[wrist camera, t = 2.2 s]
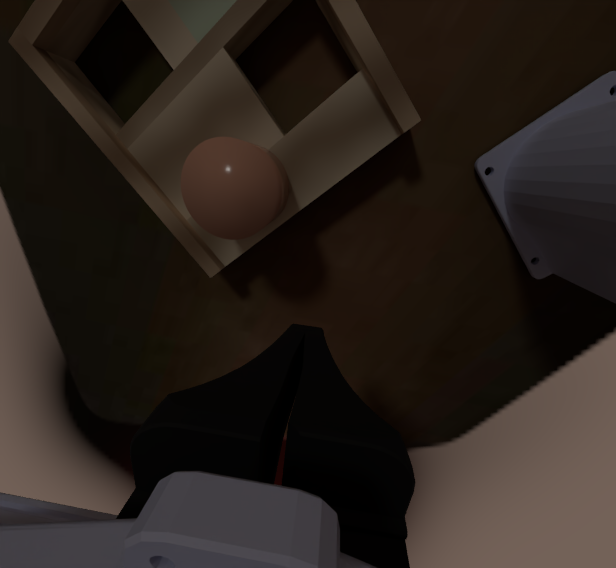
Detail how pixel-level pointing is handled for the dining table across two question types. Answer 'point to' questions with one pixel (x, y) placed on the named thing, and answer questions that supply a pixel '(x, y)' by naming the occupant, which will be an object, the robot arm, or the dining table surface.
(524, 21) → the dining table surface
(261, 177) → the brown rounded lump
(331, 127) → the wooden frame
